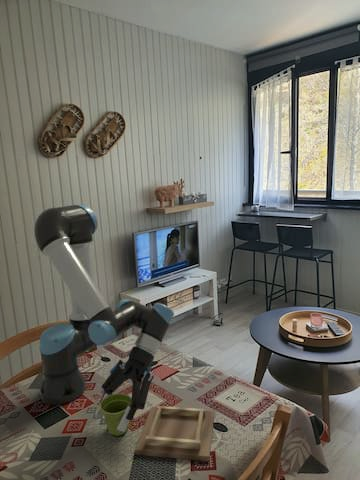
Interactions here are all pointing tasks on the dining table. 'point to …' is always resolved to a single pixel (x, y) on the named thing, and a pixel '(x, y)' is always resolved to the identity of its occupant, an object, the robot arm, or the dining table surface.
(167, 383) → the dining table surface
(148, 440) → the pot stand
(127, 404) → the plant pot
